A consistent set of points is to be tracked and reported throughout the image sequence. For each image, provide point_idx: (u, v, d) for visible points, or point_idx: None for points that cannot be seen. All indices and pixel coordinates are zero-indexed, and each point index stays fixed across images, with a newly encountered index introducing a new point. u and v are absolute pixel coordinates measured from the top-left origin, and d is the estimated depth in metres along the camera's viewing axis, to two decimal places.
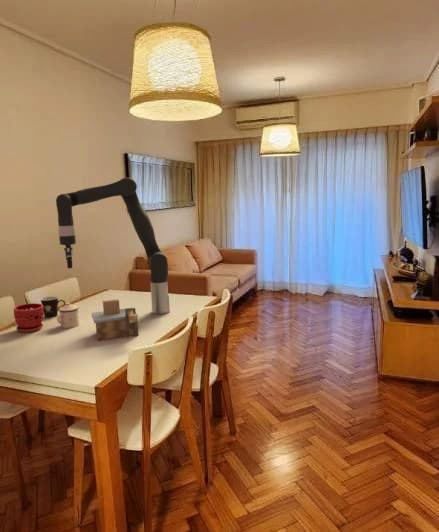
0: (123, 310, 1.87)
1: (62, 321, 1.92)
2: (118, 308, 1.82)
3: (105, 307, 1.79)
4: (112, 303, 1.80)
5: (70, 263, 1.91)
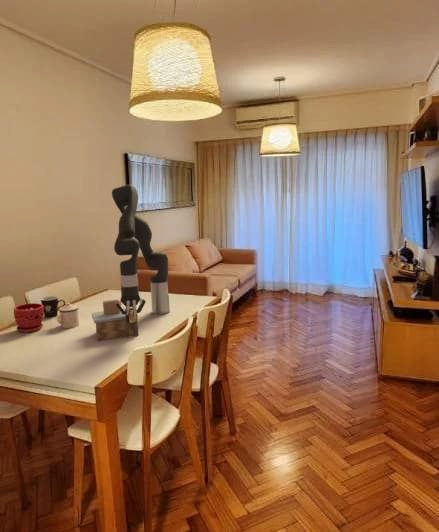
0: None
1: (62, 321, 1.92)
2: None
3: (105, 307, 1.79)
4: (112, 303, 1.80)
5: (136, 316, 1.73)
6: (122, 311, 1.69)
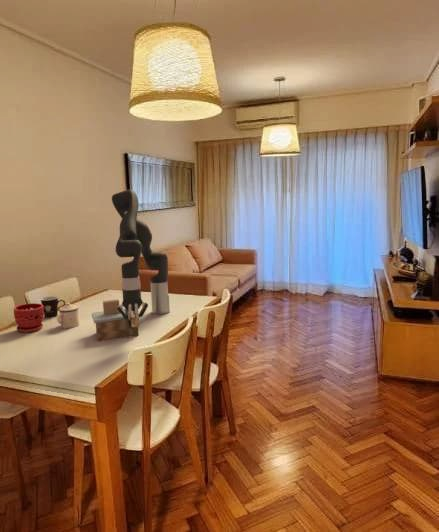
0: (123, 310, 1.87)
1: (62, 321, 1.92)
2: None
3: (105, 307, 1.79)
4: (112, 303, 1.80)
5: (138, 320, 1.67)
6: (124, 315, 1.63)
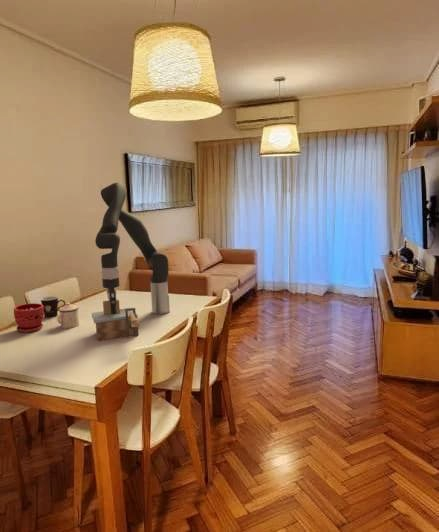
0: (123, 310, 1.87)
1: (62, 321, 1.92)
2: (118, 308, 1.82)
3: (105, 307, 1.79)
4: None
5: None
6: (115, 302, 1.75)
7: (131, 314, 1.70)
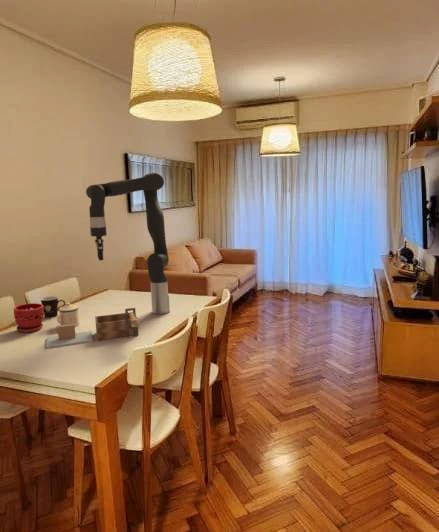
0: (80, 334, 1.80)
1: (62, 321, 1.92)
2: (73, 333, 1.75)
3: (59, 332, 1.73)
4: (67, 328, 1.74)
5: None
6: (102, 248, 1.87)
7: (131, 314, 1.70)
